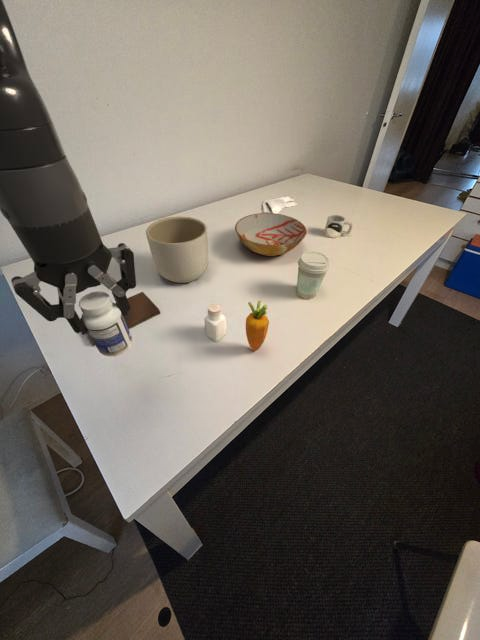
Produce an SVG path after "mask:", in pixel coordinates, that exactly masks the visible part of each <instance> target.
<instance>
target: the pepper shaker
mask: <svg viewBox="0 0 480 640" xmlns="http://www.w3.org/2000/svg"><path fill="white" fill-rule="evenodd" d="M203 320H204V329H205V335H206V336H207V337H208V338H210V339H212V340H213V341H214V342H218V341H220V340H221V339H222V338H223V337H224V336H226V335H227V317H226V315H224V314H223V313H222V305H221V303H219V302H211V303H209V304H208V305H207V314H206V315H205V317H204V319H203Z"/></svg>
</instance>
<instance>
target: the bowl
mask: <svg viewBox="0 0 480 640" xmlns="http://www.w3.org/2000/svg"><path fill="white" fill-rule="evenodd" d="M234 230H235V234H236V235H237V237H238V239H239V240H240V241H241V243H242V244H243V245H244V246H245V247H246V248H248V250H250V251H252V252H254V253H256V254H258V255H261V256H266V257H275V256H279V255H280V256H281V255H284V254H287V253H289V252H290V251H292V250H294V249H295V248H296V247H297V246H298V245H299V244H301V242H302V241H303V240H304V239H305V237H306V235H307V233H308V232H307V227H306V226H305V225H304V224H303V223H302V222H301V221H300V220H298V219H296V218H294V217H292V216H288V215H286V214H281V213H278V214H274V213H264V212H259V213H253V214H249V215H246V216H244V217H242V218H240V219H238V221H236V223H235V225H234Z"/></svg>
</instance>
